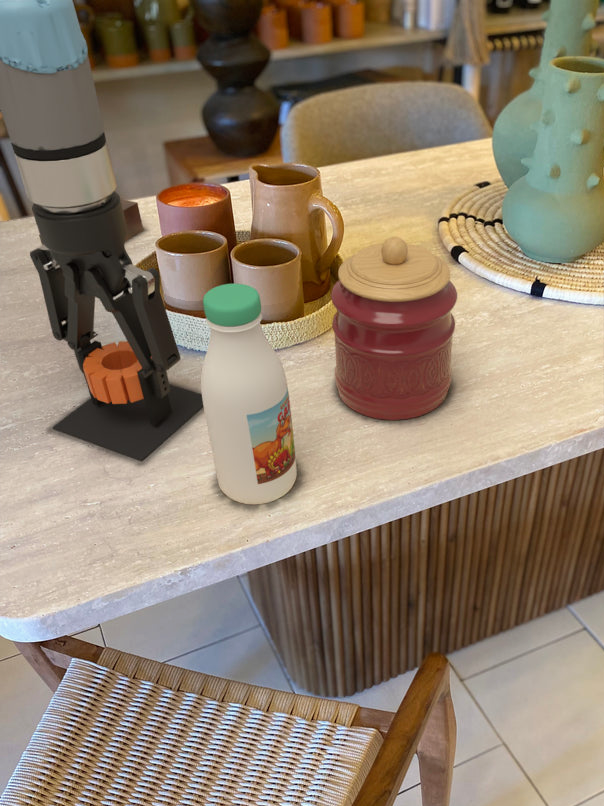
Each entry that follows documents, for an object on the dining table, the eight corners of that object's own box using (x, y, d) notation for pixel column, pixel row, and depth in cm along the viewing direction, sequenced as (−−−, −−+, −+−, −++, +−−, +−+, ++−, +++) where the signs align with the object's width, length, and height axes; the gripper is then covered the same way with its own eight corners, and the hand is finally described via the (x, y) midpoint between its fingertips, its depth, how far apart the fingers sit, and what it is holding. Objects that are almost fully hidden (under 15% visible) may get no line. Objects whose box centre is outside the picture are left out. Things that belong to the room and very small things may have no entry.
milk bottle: (231, 516, 72) (195, 327, 58) (209, 467, 77) (172, 283, 63) (308, 493, 74) (292, 306, 60) (282, 447, 79) (261, 265, 65)
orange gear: (76, 392, 80) (68, 368, 78) (122, 358, 84) (115, 334, 82) (130, 411, 77) (123, 386, 75) (174, 375, 82) (169, 351, 80)
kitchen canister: (449, 358, 91) (460, 212, 79) (450, 425, 82) (462, 270, 70) (341, 355, 92) (335, 209, 80) (329, 421, 82) (320, 267, 70)
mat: (53, 430, 82) (52, 427, 81) (127, 373, 89) (127, 370, 89) (142, 462, 78) (141, 459, 77) (212, 400, 85) (211, 397, 85)
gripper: (193, 201, 66) (229, 414, 82) (22, 163, 73) (85, 367, 89) (136, 235, 61) (186, 454, 77) (-42, 191, 68) (37, 401, 84)
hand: (132, 408), depth 83 cm, fingers closed on orange gear, 7 cm apart
